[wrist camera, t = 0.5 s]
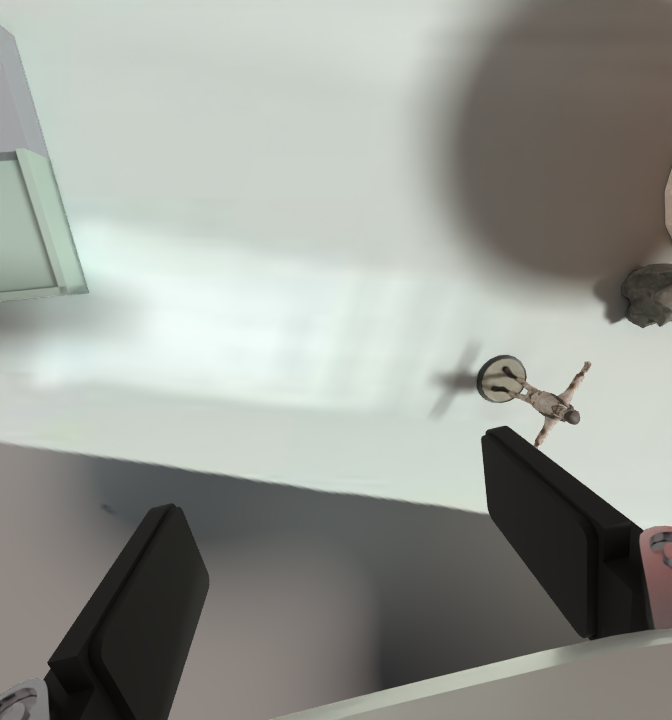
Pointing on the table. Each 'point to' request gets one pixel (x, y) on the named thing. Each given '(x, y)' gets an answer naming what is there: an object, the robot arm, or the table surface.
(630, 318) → the bone
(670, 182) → the round pedestal stand
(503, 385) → the figurine
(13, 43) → the deck
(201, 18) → the table surface
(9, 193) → the tray
